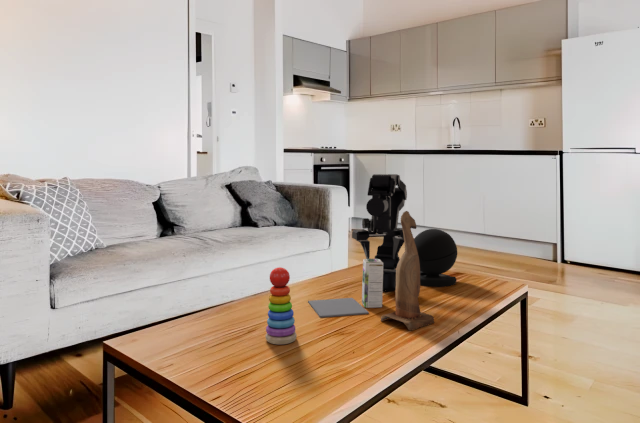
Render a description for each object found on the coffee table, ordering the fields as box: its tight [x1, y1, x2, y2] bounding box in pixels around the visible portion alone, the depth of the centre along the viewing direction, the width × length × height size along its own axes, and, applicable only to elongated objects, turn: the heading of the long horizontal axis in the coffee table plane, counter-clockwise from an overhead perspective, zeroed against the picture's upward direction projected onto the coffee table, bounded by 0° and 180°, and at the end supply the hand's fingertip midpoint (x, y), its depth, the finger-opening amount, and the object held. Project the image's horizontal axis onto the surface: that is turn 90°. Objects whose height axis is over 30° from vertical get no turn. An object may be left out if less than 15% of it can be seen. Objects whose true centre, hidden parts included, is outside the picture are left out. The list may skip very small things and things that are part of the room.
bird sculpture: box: [380, 210, 435, 332], centre depth 138 cm, size 11×12×32 cm
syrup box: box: [361, 258, 384, 309], centre depth 155 cm, size 6×6×14 cm
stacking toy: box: [265, 266, 297, 345], centre depth 125 cm, size 8×8×19 cm
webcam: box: [413, 228, 458, 288], centre depth 186 cm, size 17×17×20 cm
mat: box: [307, 297, 370, 318], centre depth 153 cm, size 15×16×1 cm
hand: (381, 259), depth 162 cm, fingers open, 9 cm apart
